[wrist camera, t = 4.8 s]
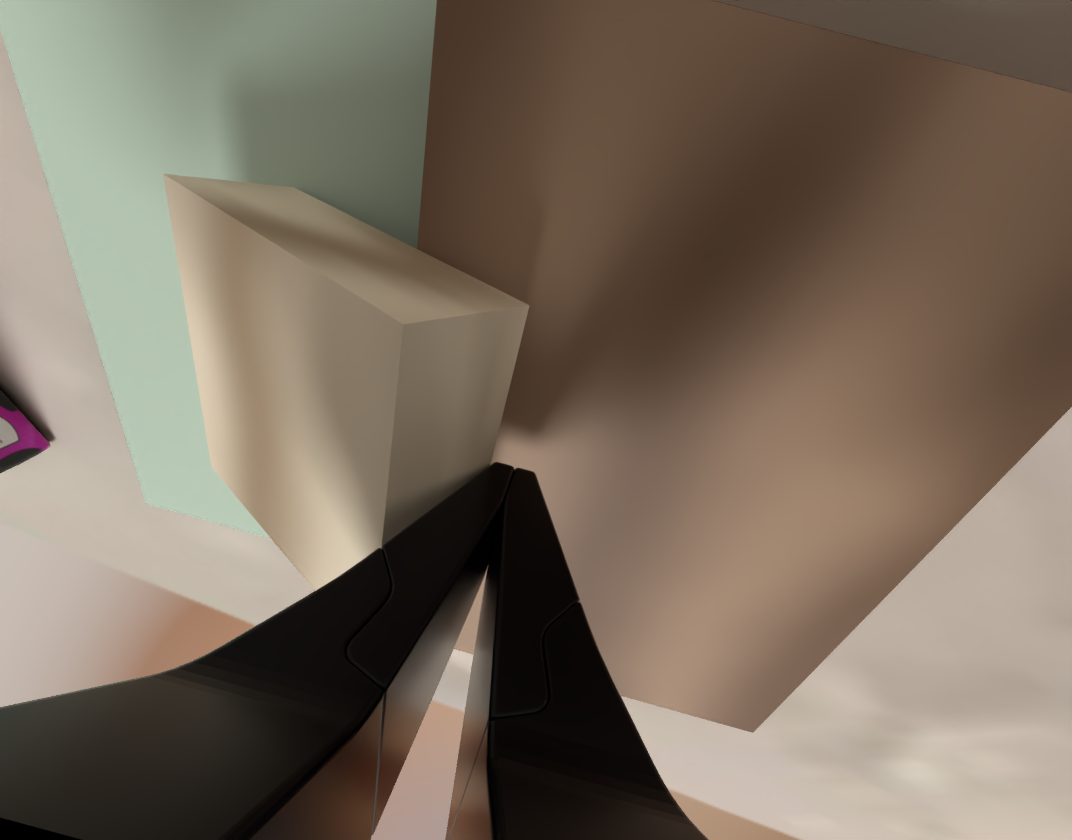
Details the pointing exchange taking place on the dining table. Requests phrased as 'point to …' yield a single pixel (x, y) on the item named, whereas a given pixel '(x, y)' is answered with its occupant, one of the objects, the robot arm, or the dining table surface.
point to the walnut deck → (748, 312)
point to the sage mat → (207, 167)
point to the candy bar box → (17, 436)
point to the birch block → (335, 367)
